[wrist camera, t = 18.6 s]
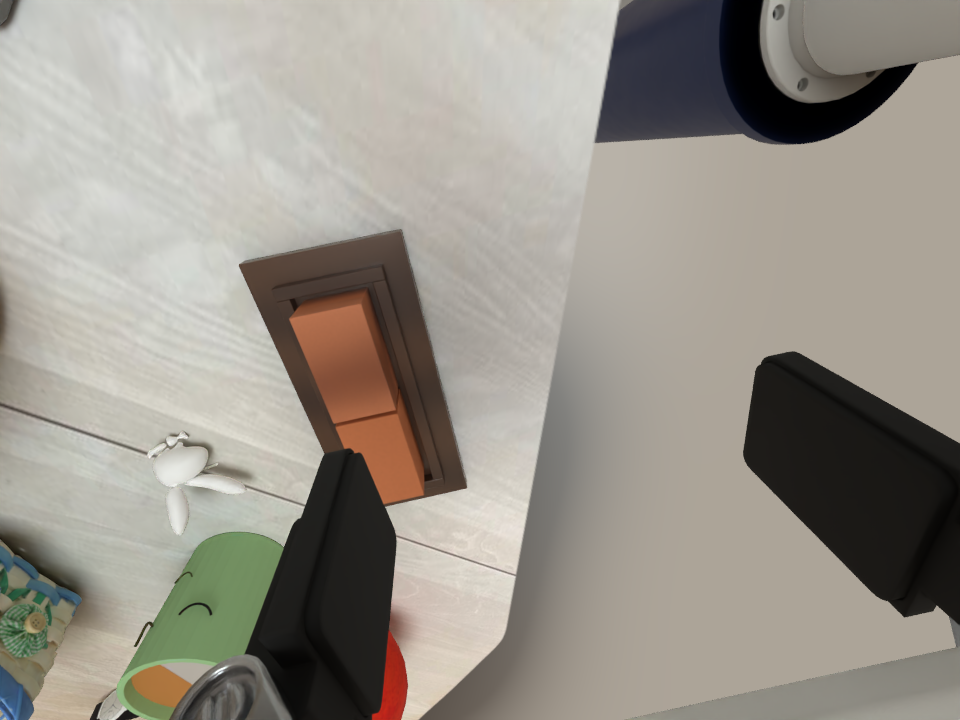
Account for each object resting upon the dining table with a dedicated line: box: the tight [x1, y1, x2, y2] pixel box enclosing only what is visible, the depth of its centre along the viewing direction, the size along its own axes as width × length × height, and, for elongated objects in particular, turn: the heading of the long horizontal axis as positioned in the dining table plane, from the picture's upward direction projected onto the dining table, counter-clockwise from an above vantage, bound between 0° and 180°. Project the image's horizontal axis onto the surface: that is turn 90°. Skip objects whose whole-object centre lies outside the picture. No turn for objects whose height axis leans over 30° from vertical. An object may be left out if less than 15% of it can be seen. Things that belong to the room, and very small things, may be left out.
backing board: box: [239, 229, 467, 506], centre depth 35 cm, size 26×12×5 cm, turn 10°
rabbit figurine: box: [147, 431, 246, 535], centre depth 36 cm, size 6×4×8 cm
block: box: [336, 389, 424, 504], centre depth 36 cm, size 9×5×4 cm, turn 10°
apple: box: [372, 631, 408, 720], centre depth 45 cm, size 12×12×13 cm
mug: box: [116, 532, 284, 720], centre depth 39 cm, size 13×10×12 cm
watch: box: [90, 690, 139, 720], centre depth 51 cm, size 8×5×4 cm, turn 105°
